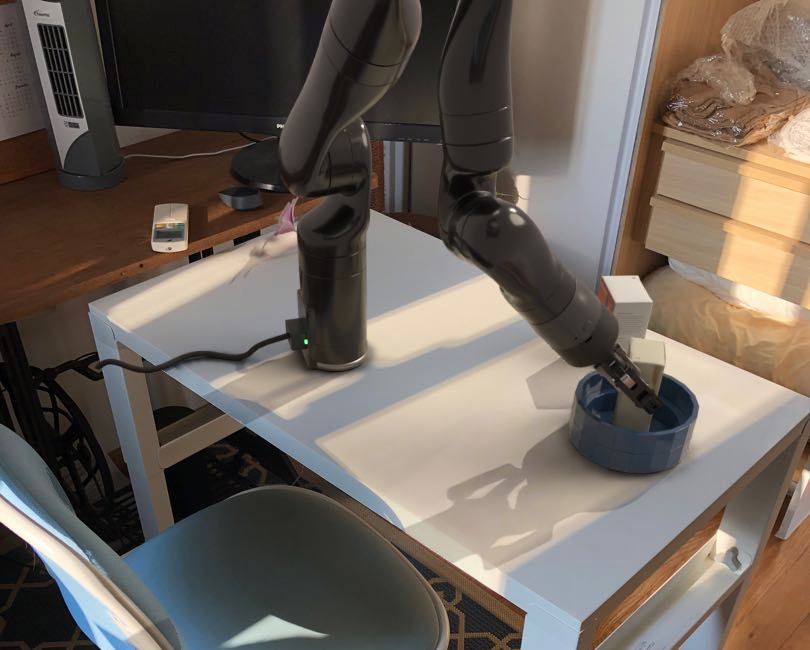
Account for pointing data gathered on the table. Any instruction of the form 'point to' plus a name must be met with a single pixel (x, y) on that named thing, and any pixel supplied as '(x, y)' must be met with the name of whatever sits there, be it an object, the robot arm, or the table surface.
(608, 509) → the table surface
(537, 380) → the table surface
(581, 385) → the bowl
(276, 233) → the lily
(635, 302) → the small box
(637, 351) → the cosmetic box
